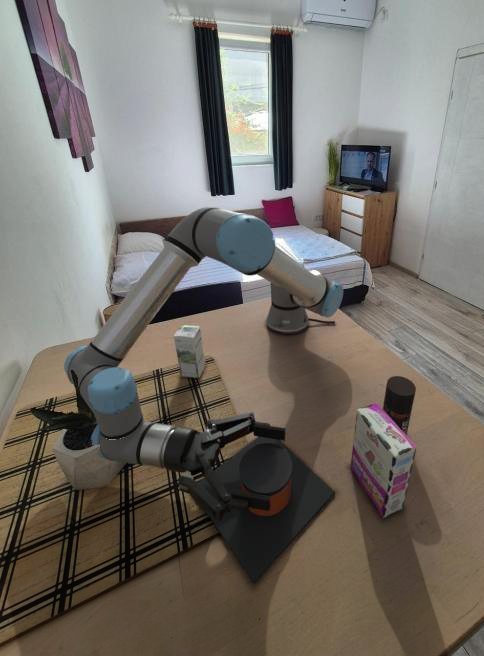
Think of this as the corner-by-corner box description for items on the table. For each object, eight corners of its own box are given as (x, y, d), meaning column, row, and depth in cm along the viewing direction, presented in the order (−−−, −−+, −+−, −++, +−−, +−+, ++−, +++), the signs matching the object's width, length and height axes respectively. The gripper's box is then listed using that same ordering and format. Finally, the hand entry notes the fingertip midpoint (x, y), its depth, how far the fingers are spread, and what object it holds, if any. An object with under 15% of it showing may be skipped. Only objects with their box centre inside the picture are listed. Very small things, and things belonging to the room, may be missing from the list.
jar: (247, 524, 58) (236, 473, 67) (299, 505, 61) (282, 458, 70) (245, 501, 55) (234, 451, 64) (300, 482, 58) (282, 436, 67)
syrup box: (206, 365, 98) (201, 324, 92) (199, 379, 93) (193, 336, 87) (187, 364, 98) (181, 323, 93) (179, 377, 93) (172, 335, 87)
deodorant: (387, 420, 79) (395, 372, 73) (410, 435, 75) (420, 385, 69) (374, 435, 76) (381, 385, 70) (397, 451, 72) (407, 400, 66)
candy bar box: (404, 508, 61) (418, 447, 54) (383, 520, 59) (394, 458, 53) (368, 457, 70) (377, 400, 64) (349, 466, 69) (355, 408, 62)
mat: (268, 430, 77) (268, 429, 76) (334, 493, 63) (334, 491, 63) (191, 490, 64) (190, 488, 64) (254, 584, 51) (253, 582, 50)
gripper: (200, 411, 76) (289, 425, 73) (137, 529, 54) (261, 557, 50) (197, 387, 73) (289, 399, 70) (128, 501, 51) (260, 528, 47)
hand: (278, 465), depth 60 cm, fingers open, 13 cm apart
